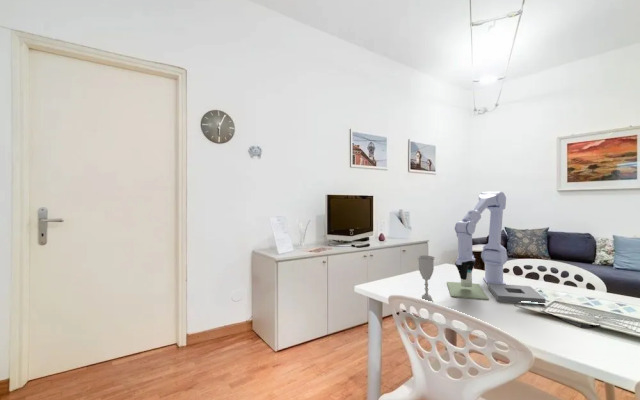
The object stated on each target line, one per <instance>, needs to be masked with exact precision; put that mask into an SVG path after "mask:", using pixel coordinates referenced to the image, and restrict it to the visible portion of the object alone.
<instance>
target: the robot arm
mask: <svg viewBox="0 0 640 400" xmlns="http://www.w3.org/2000/svg"><path fill="white" fill-rule="evenodd" d="M506 204H507V196H506V195H505V193H504V191H481V192H480V194H479V195H478V202H477V203H476V205H475V206H474V208H473V209H471V210H468V211H467V213H466V214H465V216H464V217H463V218H462V220H459V221H457V222H455V226H454V231H455V233H456V237H457V258H456V260H455V262H454V265H455V267H456V270H457V271H458V273H459V278H460V280H461V279H464V280H466V278H467V271H468V269H470V270H472V271H473V269H474V266H475V265H476V264H477V263H476V258H475V255H474V254H473V234H474V233H475V230H476V227H477V224H478V223H479V221H480V220H481V218H482V213H483V212H484V211H485V210H486V209H487V210H489V212H490V214H489V215H490V217H489V229H488V243H486V244H485V245H483V246H482V251H481V254H480V257H481V259H482V262H483V263H484V264H485V265H484V274H485V275H484V276H483V277H482V278H483V280H484V281H485V282H486V283H487V284H488V285H489V284H504V285H507V282H505V281H504V265H505V264H506V263H507V261H508V253H507V249H506V247H504V245H502V244H501V242H502V241H501V240H502V229H503V217H504V216H503V215H504V210H505V209H506V206H507V205H506Z"/></svg>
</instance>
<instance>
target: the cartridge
mask: <svg viewBox="0 0 640 400" xmlns="http://www.w3.org/2000/svg"><path fill="white" fill-rule="evenodd" d="M472 274H473V270H470V269H468V271H467V278H466V280H464V279H461V278H460V283H461V286H463V287H472V283H473V277H472V276H473V275H472Z"/></svg>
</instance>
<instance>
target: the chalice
mask: <svg viewBox="0 0 640 400" xmlns="http://www.w3.org/2000/svg"><path fill="white" fill-rule="evenodd" d="M417 260H418V271H419V274H420V276H421V277H422V279H423V280H424V292H425V293H423V294H422V295H421V298H422V299H425V300H428V301H432V303H434V300H433V298H432V296H431V294H429V287H428V286H429V283H428V281H429V280H431V278H432V276H433V274H434V263H435V262H434V260H435V256H431V255H418V256H417ZM421 298H420V299H421Z"/></svg>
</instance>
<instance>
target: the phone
mask: <svg viewBox="0 0 640 400" xmlns="http://www.w3.org/2000/svg"><path fill="white" fill-rule="evenodd" d="M561 320H562V321H565V322H567V323H568V324H572V325H574V326H576V327H579V328H583V329H585V328H593V327H592V326H590V325H587V324H583V323H578V322H574V321H571V320H567V319H561Z"/></svg>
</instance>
